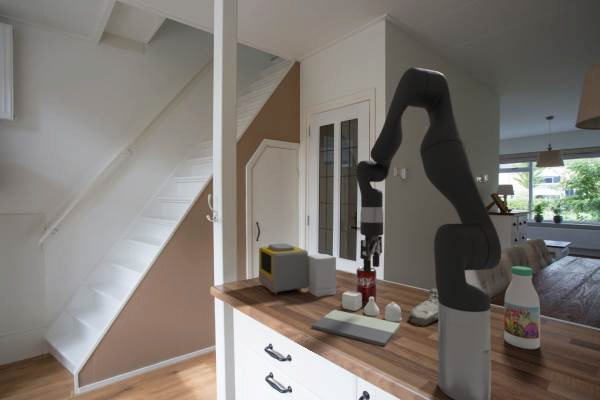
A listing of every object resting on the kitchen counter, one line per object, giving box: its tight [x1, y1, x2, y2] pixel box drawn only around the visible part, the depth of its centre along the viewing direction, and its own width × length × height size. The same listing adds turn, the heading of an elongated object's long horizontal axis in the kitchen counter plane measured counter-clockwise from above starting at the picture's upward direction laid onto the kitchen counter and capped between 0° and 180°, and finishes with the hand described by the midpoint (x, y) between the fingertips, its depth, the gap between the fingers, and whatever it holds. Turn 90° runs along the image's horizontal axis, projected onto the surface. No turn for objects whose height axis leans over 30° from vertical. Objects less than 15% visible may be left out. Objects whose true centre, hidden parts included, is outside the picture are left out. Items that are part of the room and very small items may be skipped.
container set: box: [341, 290, 402, 323], centre depth 105 cm, size 20×5×6 cm, turn 51°
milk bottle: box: [503, 265, 541, 350], centre depth 83 cm, size 8×8×20 cm
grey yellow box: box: [258, 243, 309, 296], centre depth 133 cm, size 20×16×18 cm
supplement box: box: [307, 253, 337, 298], centre depth 127 cm, size 9×9×15 cm
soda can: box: [356, 266, 377, 305], centre depth 117 cm, size 7×7×12 cm
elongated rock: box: [407, 288, 438, 326], centre depth 108 cm, size 35×5×10 cm
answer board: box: [311, 309, 401, 347], centre depth 93 cm, size 22×15×1 cm
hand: (371, 269), depth 105 cm, fingers open, 8 cm apart
